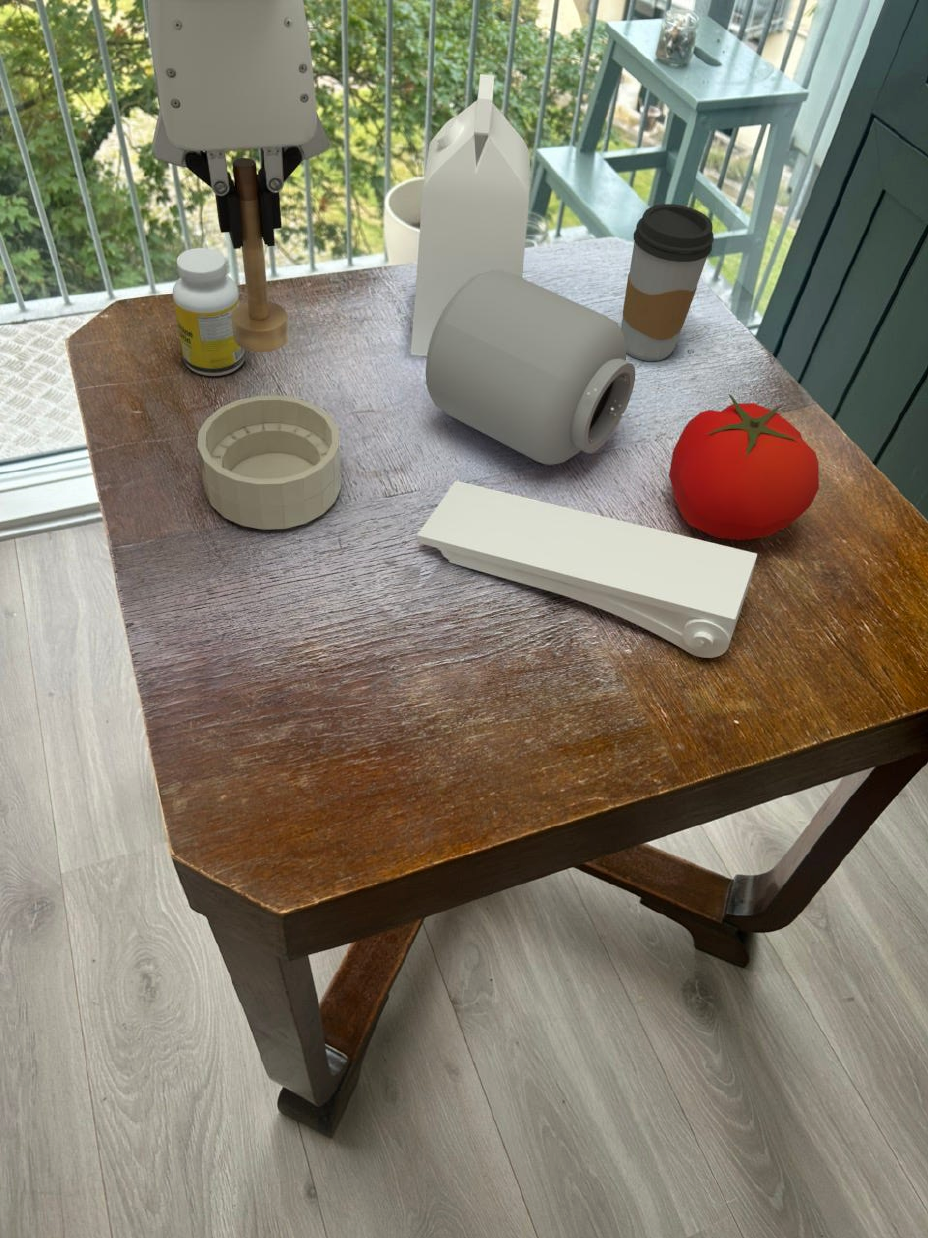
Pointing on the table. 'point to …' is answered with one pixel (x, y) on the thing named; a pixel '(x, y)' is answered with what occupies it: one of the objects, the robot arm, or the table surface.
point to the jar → (529, 368)
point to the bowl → (270, 461)
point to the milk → (469, 208)
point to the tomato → (742, 472)
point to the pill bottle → (206, 312)
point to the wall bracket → (598, 563)
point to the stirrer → (255, 272)
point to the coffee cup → (663, 278)
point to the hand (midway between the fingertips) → (251, 236)
